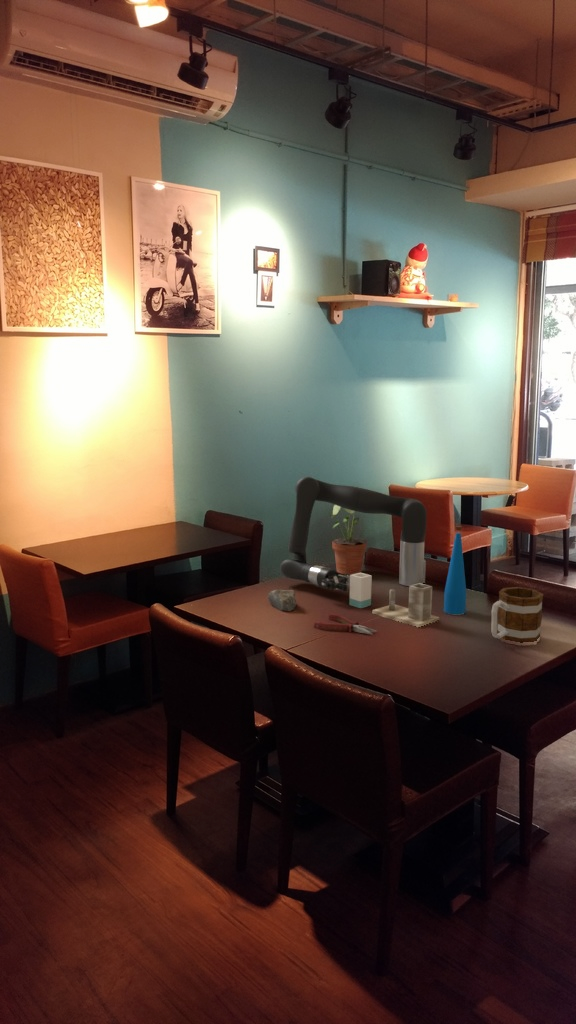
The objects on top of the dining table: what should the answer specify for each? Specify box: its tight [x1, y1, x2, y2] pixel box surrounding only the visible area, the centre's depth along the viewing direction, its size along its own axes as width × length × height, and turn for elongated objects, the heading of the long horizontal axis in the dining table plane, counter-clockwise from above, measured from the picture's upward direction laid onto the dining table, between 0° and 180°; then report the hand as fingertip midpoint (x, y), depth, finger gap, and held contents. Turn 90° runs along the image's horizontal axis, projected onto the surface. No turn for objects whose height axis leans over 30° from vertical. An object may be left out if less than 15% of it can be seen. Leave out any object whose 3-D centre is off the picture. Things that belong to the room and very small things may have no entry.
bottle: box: [443, 525, 467, 614], centre depth 270 cm, size 7×7×30 cm
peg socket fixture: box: [371, 583, 440, 628], centre depth 265 cm, size 20×11×12 cm, turn 43°
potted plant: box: [329, 504, 368, 576], centre depth 320 cm, size 16×15×35 cm
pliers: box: [313, 613, 378, 635], centre depth 254 cm, size 12×20×3 cm, turn 55°
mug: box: [490, 586, 544, 643], centre depth 243 cm, size 20×14×15 cm
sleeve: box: [348, 572, 373, 609], centre depth 278 cm, size 5×5×11 cm
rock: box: [267, 588, 297, 612], centre depth 278 cm, size 13×9×6 cm, turn 29°
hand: (355, 585), depth 280 cm, fingers open, 8 cm apart
